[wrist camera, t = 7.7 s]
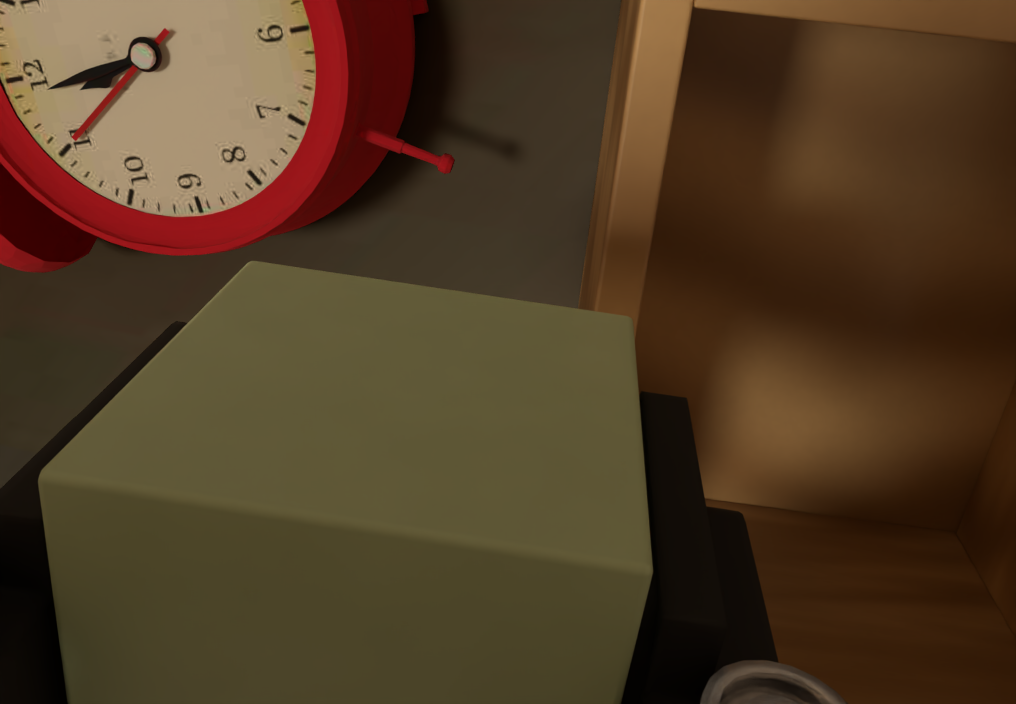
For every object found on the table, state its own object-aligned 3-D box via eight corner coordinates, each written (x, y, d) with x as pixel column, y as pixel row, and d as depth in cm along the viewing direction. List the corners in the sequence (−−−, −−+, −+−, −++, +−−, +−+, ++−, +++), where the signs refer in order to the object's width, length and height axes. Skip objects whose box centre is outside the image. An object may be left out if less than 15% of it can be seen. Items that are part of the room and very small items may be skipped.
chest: (631, -68, 21) (648, -56, 13) (1181, -9, 21) (1539, 40, 13) (552, 485, 28) (534, 708, 20) (964, 539, 28) (1110, 790, 20)
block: (248, 257, 11) (31, 473, 7) (634, 314, 11) (655, 570, 7) (251, 561, 13) (85, 871, 9) (574, 613, 13) (562, 952, 9)
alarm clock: (482, 235, 21) (-173, 382, 20) (460, 176, 27) (-53, 289, 26) (370, -302, 17) (-466, -138, 16) (371, -236, 22) (-245, -113, 22)
